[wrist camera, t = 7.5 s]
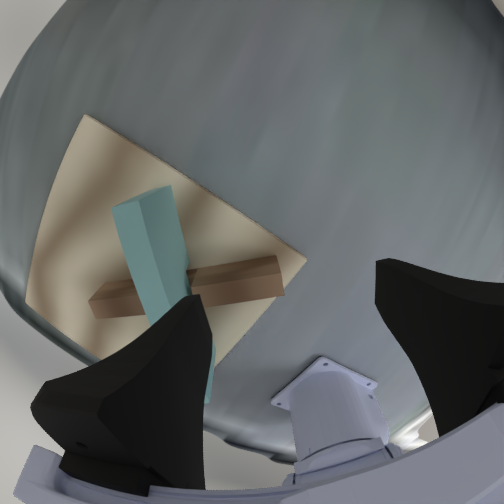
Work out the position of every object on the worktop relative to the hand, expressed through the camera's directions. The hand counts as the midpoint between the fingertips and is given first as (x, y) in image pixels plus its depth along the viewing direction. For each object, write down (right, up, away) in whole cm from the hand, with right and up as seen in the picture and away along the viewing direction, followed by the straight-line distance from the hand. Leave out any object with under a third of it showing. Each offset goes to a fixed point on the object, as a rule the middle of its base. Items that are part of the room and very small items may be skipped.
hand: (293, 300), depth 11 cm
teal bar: (-7, 0, +9) cm, 12 cm away
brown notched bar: (-7, 0, +10) cm, 12 cm away
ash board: (-12, -1, +10) cm, 15 cm away
